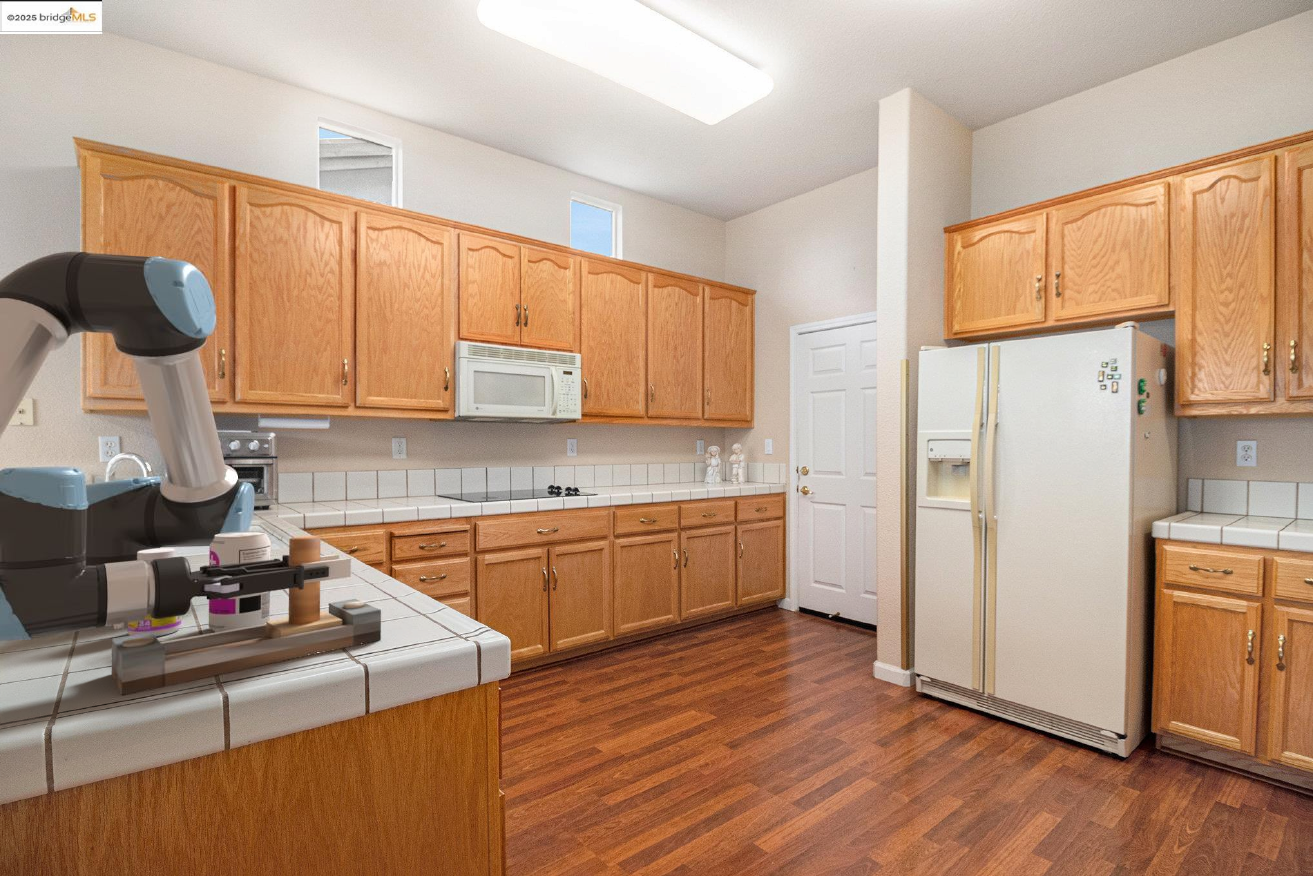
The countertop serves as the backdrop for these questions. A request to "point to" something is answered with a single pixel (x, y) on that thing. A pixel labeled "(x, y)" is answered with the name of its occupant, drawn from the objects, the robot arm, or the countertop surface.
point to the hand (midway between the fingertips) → (343, 565)
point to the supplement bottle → (149, 624)
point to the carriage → (303, 596)
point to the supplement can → (242, 607)
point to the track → (232, 649)
